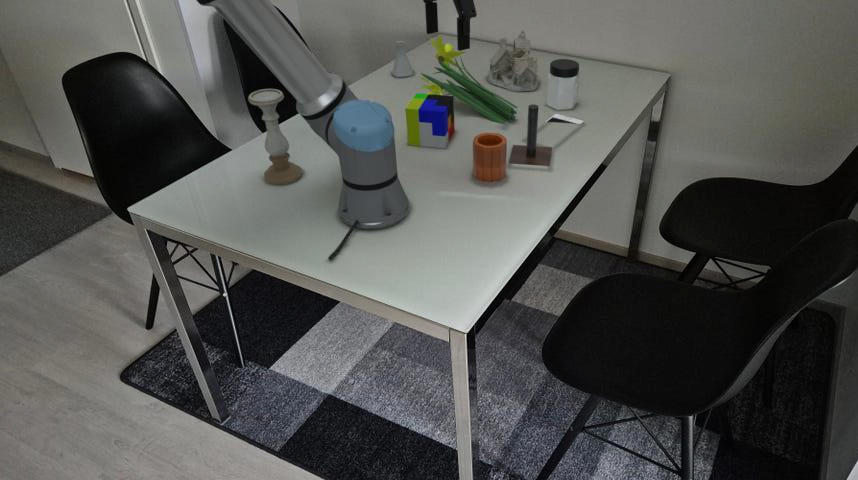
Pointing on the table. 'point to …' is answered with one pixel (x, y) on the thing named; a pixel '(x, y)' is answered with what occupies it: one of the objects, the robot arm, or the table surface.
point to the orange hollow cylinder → (489, 157)
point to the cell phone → (564, 119)
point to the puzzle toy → (430, 120)
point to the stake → (531, 144)
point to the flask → (401, 62)
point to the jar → (563, 84)
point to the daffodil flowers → (467, 87)
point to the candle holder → (275, 139)
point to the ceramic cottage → (514, 66)
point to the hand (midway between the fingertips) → (447, 40)
